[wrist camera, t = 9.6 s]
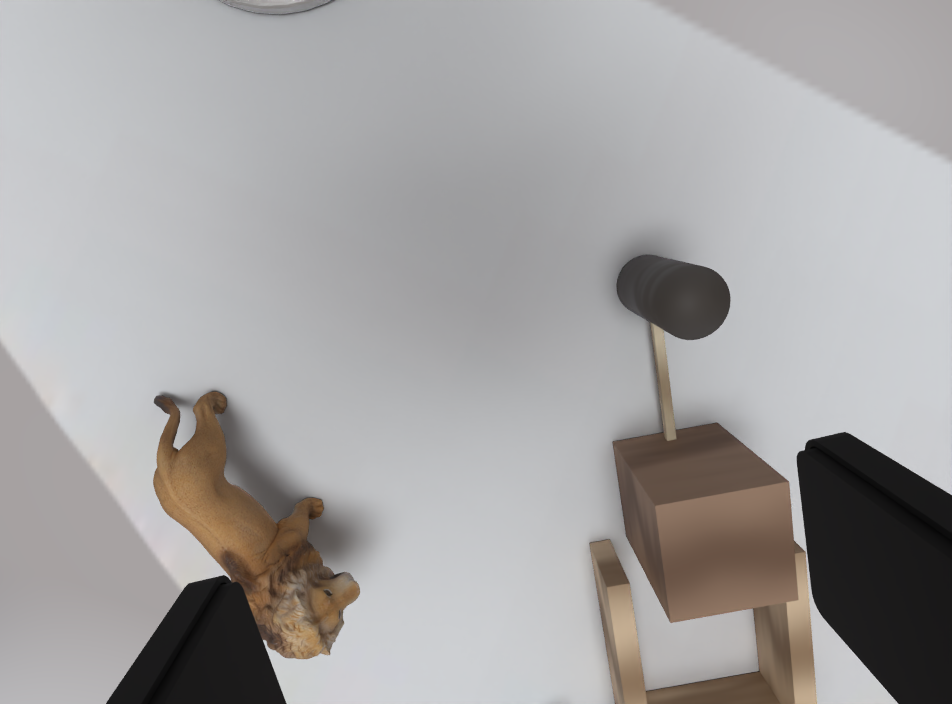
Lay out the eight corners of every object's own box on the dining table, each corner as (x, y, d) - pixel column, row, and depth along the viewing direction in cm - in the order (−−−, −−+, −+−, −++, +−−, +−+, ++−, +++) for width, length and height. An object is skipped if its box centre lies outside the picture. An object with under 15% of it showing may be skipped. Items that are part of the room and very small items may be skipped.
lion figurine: (390, 531, 37) (368, 631, 28) (330, 590, 38) (290, 706, 29) (189, 362, 34) (96, 413, 26) (129, 429, 35) (18, 502, 26)
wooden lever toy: (587, 265, 34) (625, 282, 26) (698, 244, 34) (770, 255, 26) (626, 536, 37) (670, 622, 29) (727, 518, 37) (798, 600, 29)
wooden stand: (589, 543, 37) (635, 660, 27) (764, 511, 37) (873, 618, 27) (616, 713, 40) (667, 876, 30) (780, 684, 40) (884, 839, 30)
